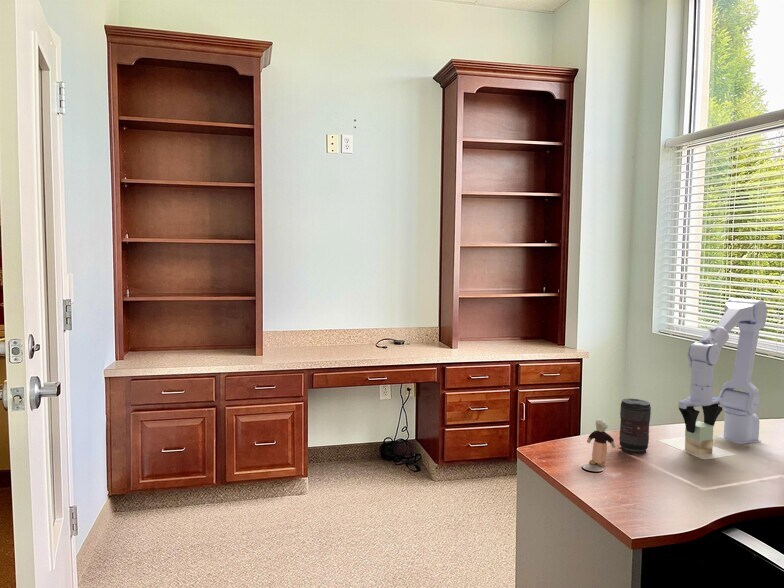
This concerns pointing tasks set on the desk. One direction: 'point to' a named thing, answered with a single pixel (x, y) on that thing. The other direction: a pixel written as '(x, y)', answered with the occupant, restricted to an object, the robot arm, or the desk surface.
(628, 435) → the camera lens
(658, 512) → the desk surface
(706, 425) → the sage block
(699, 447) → the beech block
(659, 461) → the desk surface
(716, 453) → the plate
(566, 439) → the desk surface
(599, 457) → the grandmother figurine
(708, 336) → the robot arm
